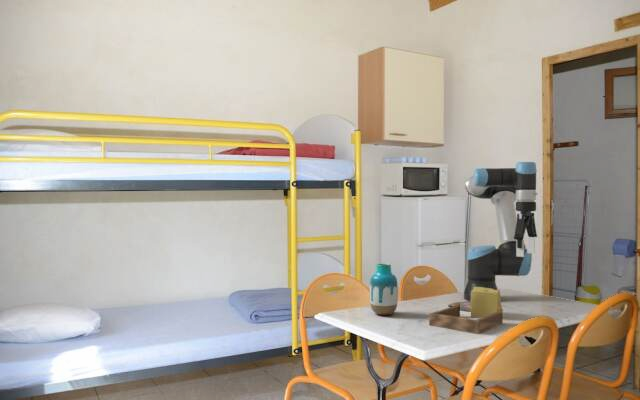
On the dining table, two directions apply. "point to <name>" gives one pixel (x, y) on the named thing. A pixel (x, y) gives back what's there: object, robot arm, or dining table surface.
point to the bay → (464, 320)
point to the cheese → (484, 301)
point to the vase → (383, 290)
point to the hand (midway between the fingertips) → (525, 254)
